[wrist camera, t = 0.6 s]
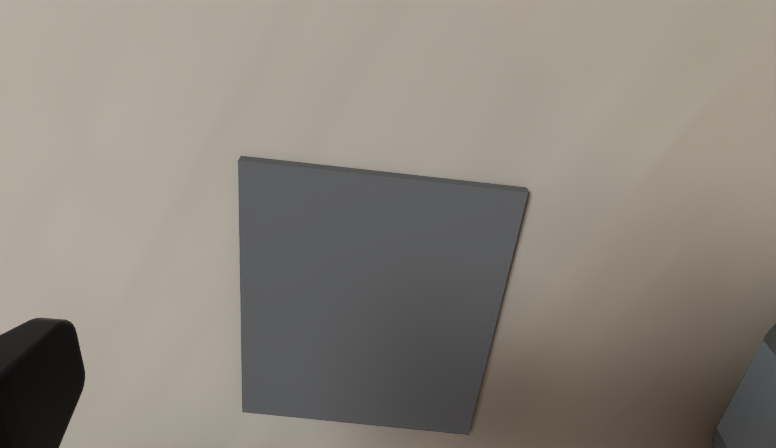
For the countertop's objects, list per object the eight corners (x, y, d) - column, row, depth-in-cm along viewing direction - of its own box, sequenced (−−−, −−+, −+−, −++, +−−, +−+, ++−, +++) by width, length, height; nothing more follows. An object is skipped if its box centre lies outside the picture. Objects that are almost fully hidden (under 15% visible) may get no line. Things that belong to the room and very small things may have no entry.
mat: (467, 427, 27) (468, 434, 27) (244, 404, 27) (242, 411, 26) (526, 187, 21) (528, 192, 21) (241, 156, 21) (238, 160, 20)
